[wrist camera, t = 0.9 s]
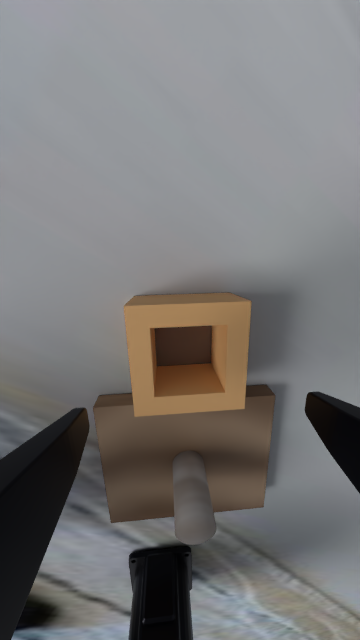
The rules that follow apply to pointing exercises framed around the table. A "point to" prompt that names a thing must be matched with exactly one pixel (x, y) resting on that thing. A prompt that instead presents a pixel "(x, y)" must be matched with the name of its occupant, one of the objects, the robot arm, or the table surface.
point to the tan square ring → (194, 379)
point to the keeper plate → (177, 433)
